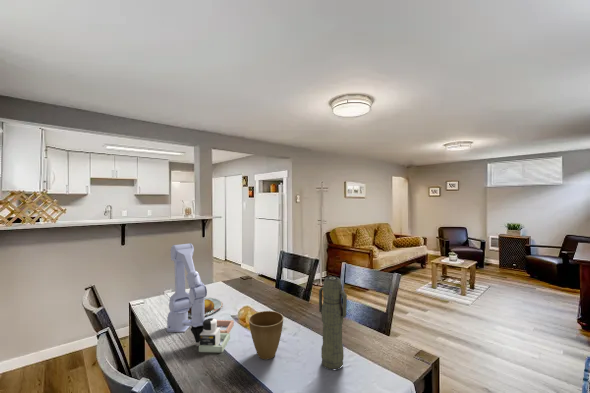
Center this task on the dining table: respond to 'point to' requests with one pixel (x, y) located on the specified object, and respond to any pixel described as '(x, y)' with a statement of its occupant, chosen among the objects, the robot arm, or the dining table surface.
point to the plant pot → (266, 332)
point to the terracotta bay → (225, 323)
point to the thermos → (332, 321)
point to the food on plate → (210, 305)
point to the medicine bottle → (210, 333)
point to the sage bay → (216, 347)
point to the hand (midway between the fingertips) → (198, 341)
